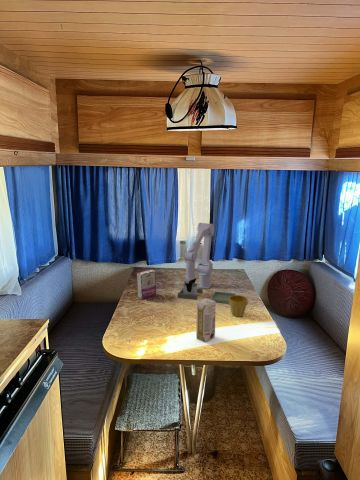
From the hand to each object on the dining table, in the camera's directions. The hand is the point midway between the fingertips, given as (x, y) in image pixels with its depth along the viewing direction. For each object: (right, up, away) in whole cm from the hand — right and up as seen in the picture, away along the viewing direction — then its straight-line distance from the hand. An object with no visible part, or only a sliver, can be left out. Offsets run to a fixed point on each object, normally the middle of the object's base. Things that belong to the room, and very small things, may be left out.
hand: (190, 290), depth 235 cm
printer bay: (0, -3, +1) cm, 3 cm away
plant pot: (+26, -10, -30) cm, 40 cm away
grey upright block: (0, -2, 0) cm, 2 cm away
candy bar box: (-28, -4, -1) cm, 28 cm away
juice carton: (+6, -15, -57) cm, 59 cm away
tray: (+20, -4, -6) cm, 22 cm away
